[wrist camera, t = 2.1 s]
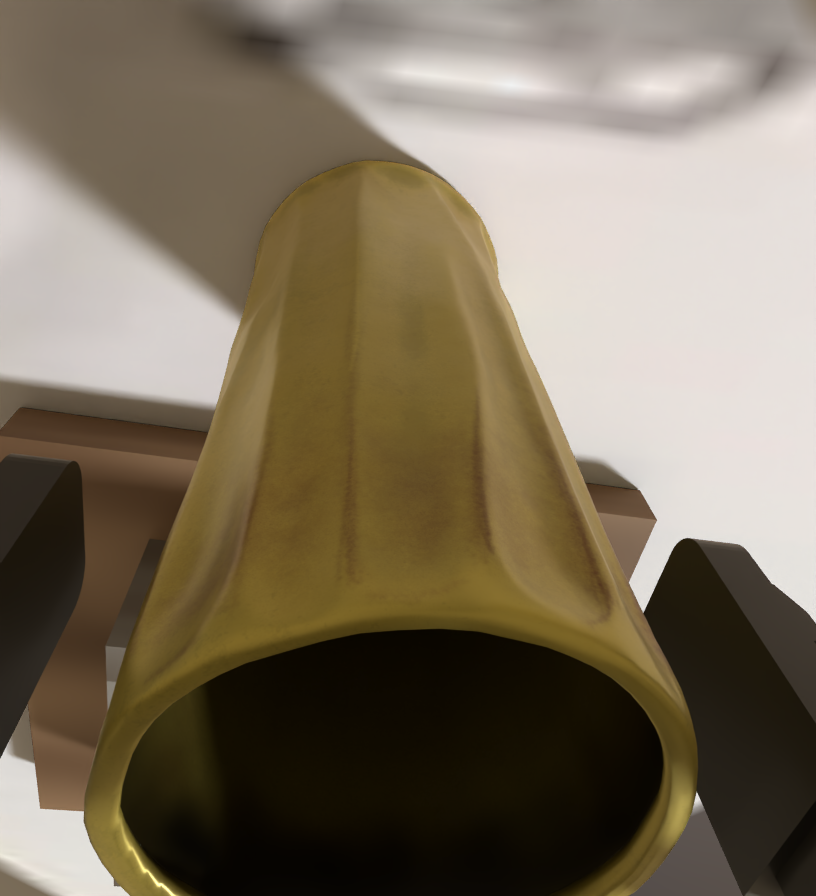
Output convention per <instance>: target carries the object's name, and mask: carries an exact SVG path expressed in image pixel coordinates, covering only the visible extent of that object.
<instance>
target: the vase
mask: <svg viewBox="0 0 816 896" xmlns="http://www.w3.org/2000/svg"><path fill="white" fill-rule="evenodd" d="M697 774H698V755H697V743H696V737H695V732H694V728H693V723H692V719H691V716H690V712H689V709H688V706H687V703H686V701H685V698H684V695H683V692H682V690H681V687H680V685H679V683H678V681H677V679H676V677H675V675H674V673H673V671H672V669H671V667H670V665H669V663H668V661H667V659H666V657H665V656H664V654H663V652H662V650H661V648H660V646H659V645H658V643H657V641H656V639H655V637H654V635H653V633H652V631H651V628H650V626H649V624H648V622H647V620H646V618H645V616H644V614H643V612H642V610H641V608H640V606H639V604H638V602H637V599H636V597H635V595H634V593H633V591H632V589H631V587H630V585H629V583H628V580H627V578H626V576H625V574H624V572H623V570H622V568H621V566H620V564H619V561H618V559H617V557H616V555H615V553H614V550H613V548H612V546H611V544H610V542H609V539H608V537H607V535H606V533H605V530H604V528H603V525H602V523H601V520H600V518H599V516H598V513H597V511H596V508H595V506H594V504H593V501H592V499H591V496H590V494H589V491H588V489H587V486H586V484H585V481H584V479H583V476H582V474H581V472H580V469H579V467H578V464H577V462H576V460H575V458H574V455H573V453H572V451H571V448H570V446H569V443H568V441H567V439H566V436H565V434H564V431H563V429H562V427H561V424H560V422H559V420H558V417H557V415H556V412H555V410H554V408H553V405H552V403H551V401H550V398H549V396H548V394H547V391H546V389H545V387H544V385H543V382H542V380H541V378H540V376H539V373H538V371H537V369H536V367H535V365H534V363H533V361H532V359H531V357H530V355H529V353H528V350H527V348H526V346H525V343H524V341H523V338H522V336H521V333H520V330H519V327H518V324H517V321H516V318H515V316H514V313H513V311H512V308H511V306H510V304H509V302H508V300H507V298H506V296H505V294H504V292H503V290H502V288H501V286H500V282H499V279H498V267H497V258H496V254H495V250H494V247H493V244H492V242H491V239H490V236H489V234H488V232H487V230H486V227H485V225H484V223H483V221H482V219H481V217H480V216H479V215H478V214H477V213H476V211H475V210H474V208H473V207H472V206H471V205H470V204H469V203H468V202H467V201H466V199H465V198H464V197H463V196H461V195H460V194H459V193H458V192H457V191H456V190H455V189H454V188H452V187H451V186H450V185H448V184H447V183H446V182H444V181H443V180H441V179H440V178H438V177H436V176H434V175H433V174H430V173H428V172H426V171H424V170H421V169H418V168H415V167H413V166H410V165H405V164H400V163H395V162H386V161H369V160H366V161H359V162H353V163H349V164H346V165H343V166H340V167H337V168H334V169H332V170H329V171H327V172H324V173H322V174H320V175H318V176H316V177H314V178H312V179H310V180H308V181H306V182H305V183H304V184H302V185H301V186H300V187H298V188H297V189H295V190H294V191H293V192H292V193H291V194H290V195H289V196H288V197H287V198H286V199H285V200H284V201H283V202H282V204H281V205H280V206H279V208H278V209H277V210H276V211H275V213H274V214H273V215H272V217H271V219H270V220H269V222H268V224H267V225H266V227H265V229H264V232H263V235H262V237H261V240H260V243H259V247H258V252H257V256H256V262H255V270H254V276H253V279H252V282H251V286H250V289H249V293H248V297H247V301H246V305H245V309H244V312H243V315H242V319H241V322H240V325H239V328H238V331H237V334H236V337H235V339H234V342H233V345H232V348H231V352H230V356H229V360H228V365H227V369H226V373H225V377H224V381H223V384H222V388H221V392H220V395H219V399H218V402H217V406H216V409H215V413H214V416H213V419H212V422H211V426H210V429H209V432H208V435H207V438H206V441H205V444H204V447H203V449H202V452H201V455H200V458H199V460H198V463H197V466H196V468H195V471H194V474H193V476H192V479H191V482H190V484H189V487H188V489H187V492H186V494H185V497H184V499H183V502H182V504H181V506H180V509H179V511H178V514H177V516H176V519H175V521H174V523H173V526H172V528H171V531H170V533H169V536H168V538H167V541H166V543H165V546H164V548H163V551H162V554H161V556H160V559H159V562H158V564H157V567H156V569H155V572H154V575H153V577H152V580H151V583H150V585H149V588H148V590H147V593H146V596H145V598H144V601H143V604H142V606H141V609H140V612H139V615H138V617H137V620H136V623H135V625H134V628H133V631H132V634H131V636H130V639H129V642H128V644H127V647H126V651H125V654H124V657H123V661H122V664H121V667H120V671H119V674H118V677H117V681H116V684H115V688H114V691H113V695H112V698H111V702H110V705H109V709H108V711H107V714H106V717H105V720H104V723H103V725H102V728H101V731H100V735H99V739H98V743H97V747H96V751H95V755H94V759H93V762H92V766H91V771H90V775H89V779H88V783H87V787H86V792H85V797H84V824H85V827H86V830H87V833H88V836H89V839H90V842H91V844H92V846H93V848H94V850H95V852H96V853H97V855H98V857H99V859H100V861H101V863H102V864H103V865H104V867H105V868H106V869H107V870H108V872H109V873H110V874H111V876H112V877H113V878H114V879H115V881H116V882H117V883H118V884H119V885H120V886H121V887H122V888H123V889H124V890H125V891H126V892H127V893H128V894H129V895H130V896H629V895H630V894H632V893H633V892H635V891H636V890H637V889H638V888H639V887H641V886H642V884H644V883H645V882H646V881H647V880H648V879H649V878H650V877H651V876H652V875H653V873H654V872H655V871H656V870H657V868H658V867H659V866H660V865H661V864H662V863H663V861H664V860H665V859H666V857H667V856H668V854H669V853H670V851H671V850H672V848H673V847H674V846H675V844H676V842H677V841H678V839H679V837H680V836H681V834H682V832H683V830H684V828H685V826H686V824H687V822H688V819H689V817H690V815H691V813H692V809H693V805H694V801H695V796H696V790H697Z"/></svg>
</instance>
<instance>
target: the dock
mask: <svg viewBox="0 0 816 896" xmlns="http://www.w3.org/2000/svg"><path fill="white" fill-rule="evenodd" d="M207 435H208V433H207V432H199V431H192V430H184V429H177V428H169V427H162V426H154V425H147V424H139V423H132V422H124V421H117V420H109V419H102V418H95V417H87V416H80V415H72V414H65V413H57V412H50V411H42V410H35V409H27V408H19V409H18V410H17V412H16V413H15V414H14V415H13V416H12V417H11V418H10V420H9V421H8V422H7V423H6V424H5V425H4V426H3V428H2V429H1V430H0V462H1V461H2V460H3V459H4V458H5V457H6V456H7V455H9V454H12V453H14V454H22V455H30V456H38V457H46V458H55V459H63V460H71V461H76V462H77V463H78V464H79V466H80V469H81V474H82V491H83V514H84V537H85V572H84V578H83V584H82V588H81V592H80V595H79V599H78V601H77V604H76V606H75V609H74V611H73V613H72V615H71V617H70V619H69V621H68V623H67V625H66V627H65V629H64V631H63V633H62V635H61V637H60V639H59V641H58V643H57V645H56V647H55V649H54V651H53V653H52V655H51V657H50V659H49V661H48V663H47V665H46V667H45V669H44V671H43V673H42V675H41V677H40V679H39V681H38V683H37V685H36V687H35V689H34V691H33V693H32V695H31V697H30V699H29V701H28V710H29V718H30V726H31V735H32V743H33V752H34V760H35V768H36V777H37V785H38V794H39V802H40V809H55V810H71V811H84V797H85V792H86V787H87V783H88V779H89V775H90V771H91V766H92V762H93V759H94V755H95V751H96V747H97V743H98V739H99V735H100V731H101V728H102V725H103V723H104V720H105V717H106V714H107V711H108V709H109V705H110V702H111V698H112V695H113V691H114V688H115V684H116V681H117V677H118V674H119V671H120V667H121V664H122V661H123V657H124V654H125V651H126V647H127V644H128V642H129V639H130V636H131V634H132V631H133V628H134V625H135V623H136V620H137V617H138V615H139V612H140V609H141V606H142V604H143V601H144V598H145V596H146V593H147V590H148V588H149V585H150V583H151V580H152V577H153V575H154V572H155V569H156V567H157V564H158V562H159V559H160V556H161V554H162V551H163V548H164V546H165V543H166V541H167V538H168V536H169V533H170V531H171V528H172V526H173V523H174V521H175V519H176V516H177V514H178V511H179V509H180V506H181V504H182V502H183V499H184V497H185V494H186V492H187V489H188V487H189V484H190V482H191V479H192V476H193V474H194V471H195V468H196V466H197V463H198V460H199V458H200V455H201V452H202V449H203V447H204V444H205V441H206V438H207ZM585 484H586V486H587V489H588V491H589V494H590V496H591V499H592V501H593V504H594V506H595V508H596V511H597V513H598V516H599V518H600V520H601V523H602V525H603V528H604V530H605V533H606V535H607V537H608V539H609V542H610V544H611V546H612V548H613V550H614V553H615V555H616V557H617V559H618V561H619V564H620V566H621V568H622V570H623V572H624V574H625V576H626V578H627V580H628V583H629V580H630V578H631V576H632V574H633V572H634V569H635V567H636V565H637V563H638V561H639V558H640V556H641V554H642V552H643V550H644V547H645V545H646V543H647V541H648V539H649V536H650V534H651V532H652V530H653V528H654V525H655V523H656V521H657V519H656V518H655V516H654V514H653V512H652V511H651V509H650V507H649V505H648V504H647V502H646V500H645V498H644V497H643V495H642V493H641V491H640V490H632V489H625V488H617V487H610V486H602V485H595V484H587V483H585ZM114 886H120V885H119V884H118V883H117V882H116V881H115V879H114Z"/></svg>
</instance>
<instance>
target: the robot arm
mask: <svg viewBox="0 0 816 896" xmlns="http://www.w3.org/2000/svg"><path fill="white" fill-rule="evenodd" d="M84 572H85V537H84V514H83V491H82V474H81V469H80V466H79V464H78V463H77V462H76V461H71V460H63V459H55V458H46V457H38V456H30V455H22V454H14V453H12V454H9V455H7V456H6V457H5V458H4V459H3V460H2V461H1V462H0V758H1V756H2V754H3V752H4V750H5V748H6V746H7V744H8V742H9V740H10V738H11V736H12V734H13V732H14V730H15V728H16V726H17V724H18V722H19V720H20V718H21V716H22V714H23V712H24V710H25V708H26V706H27V704H28V701H29V699H30V697H31V695H32V693H33V691H34V689H35V687H36V685H37V683H38V681H39V679H40V677H41V675H42V673H43V671H44V669H45V667H46V665H47V663H48V661H49V659H50V657H51V655H52V653H53V651H54V649H55V647H56V645H57V643H58V641H59V639H60V637H61V635H62V633H63V631H64V629H65V627H66V625H67V623H68V621H69V619H70V617H71V615H72V613H73V611H74V609H75V606H76V604H77V601H78V599H79V595H80V592H81V588H82V584H83V578H84ZM643 614H644V616H645V618H646V620H647V622H648V624H649V626H650V628H651V631H652V633H653V635H654V637H655V639H656V641H657V643H658V645H659V646H660V648H661V650H662V652H663V654H664V656H665V657H666V659H667V661H668V663H669V665H670V667H671V669H672V671H673V673H674V675H675V677H676V679H677V681H678V683H679V685H680V687H681V690H682V692H683V695H684V698H685V701H686V703H687V706H688V709H689V712H690V716H691V719H692V723H693V728H694V732H695V737H696V743H697V755H698V774H697V793H698V795H699V797H700V800H701V802H702V804H703V806H704V809H705V811H706V813H707V815H708V818H709V820H710V822H711V825H712V827H713V829H714V831H715V834H716V836H717V838H718V840H719V843H720V845H721V847H722V850H723V852H724V854H725V856H726V858H727V861H728V863H729V865H730V867H731V870H732V872H733V875H734V877H735V879H736V881H737V883H738V886H739V888H740V890H741V893H742V895H743V896H816V623H815V622H814V621H813V619H812V618H811V617H810V615H809V614H808V613H807V612H806V611H805V610H804V609H803V608H801V607H800V606H799V605H798V604H796V603H795V602H794V601H793V600H792V599H790V598H789V597H788V596H787V595H786V594H784V593H783V592H782V591H781V590H779V589H778V588H777V587H776V586H775V585H773V584H771V582H770V581H769V580H768V578H767V577H766V576H765V574H764V573H763V572H762V570H761V569H760V568H759V566H758V565H757V564H756V562H755V561H754V559H753V558H752V557H751V555H750V554H749V553H748V551H747V550H746V549H745V548H744V547H742V546H740V545H738V544H731V543H723V542H715V541H707V540H698V539H690V538H686V539H683V540H681V541H679V542H678V543H677V544H676V546H675V547H674V549H673V551H672V552H671V555H670V557H669V559H668V561H667V563H666V565H665V568H664V570H663V572H662V574H661V576H660V578H659V581H658V583H657V585H656V587H655V589H654V591H653V594H652V596H651V598H650V600H649V602H648V604H647V607H646V609H645V611H644V613H643Z"/></svg>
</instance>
